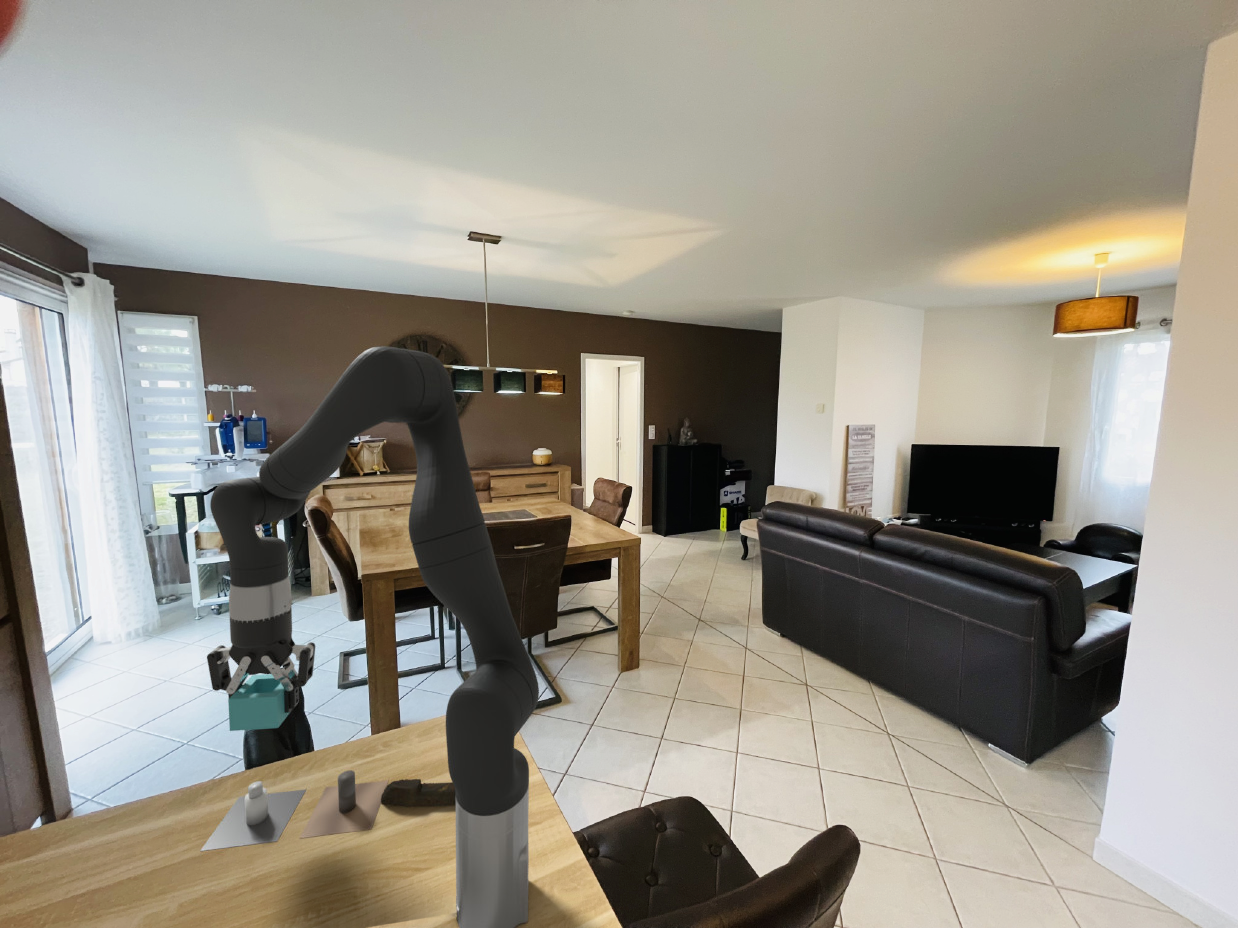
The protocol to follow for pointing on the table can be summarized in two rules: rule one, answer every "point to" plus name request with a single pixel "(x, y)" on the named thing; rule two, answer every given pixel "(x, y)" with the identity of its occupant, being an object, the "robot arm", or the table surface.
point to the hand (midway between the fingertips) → (265, 710)
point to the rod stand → (345, 807)
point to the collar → (257, 704)
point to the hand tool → (419, 794)
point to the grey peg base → (255, 818)
